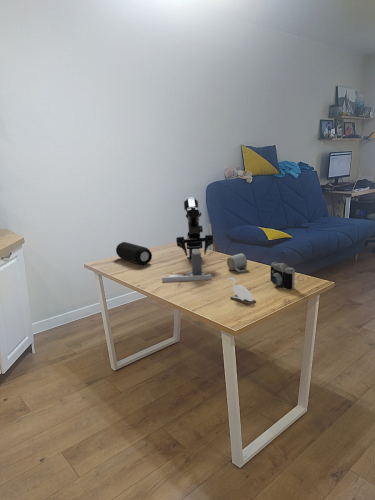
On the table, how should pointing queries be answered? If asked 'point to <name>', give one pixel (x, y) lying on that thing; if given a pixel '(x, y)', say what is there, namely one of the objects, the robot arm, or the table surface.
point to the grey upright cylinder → (196, 262)
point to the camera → (282, 275)
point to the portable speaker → (134, 253)
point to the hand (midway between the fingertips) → (195, 255)
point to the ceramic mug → (237, 262)
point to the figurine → (241, 294)
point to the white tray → (186, 277)
